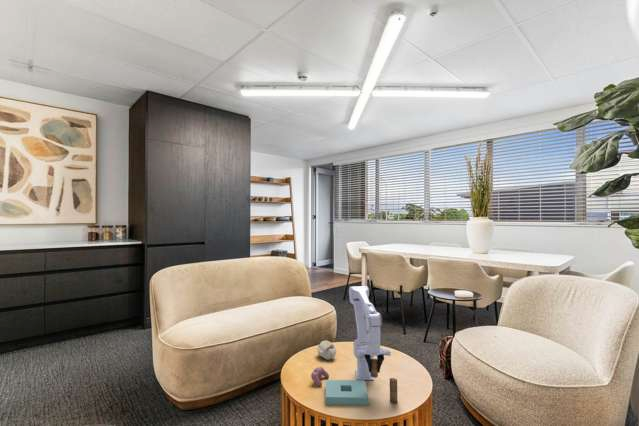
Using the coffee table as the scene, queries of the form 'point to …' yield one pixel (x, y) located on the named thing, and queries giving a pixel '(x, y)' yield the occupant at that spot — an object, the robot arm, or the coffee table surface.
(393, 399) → the tall pin
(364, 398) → the block
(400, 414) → the coffee table surface
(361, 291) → the robot arm
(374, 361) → the short pin
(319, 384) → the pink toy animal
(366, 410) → the coffee table surface
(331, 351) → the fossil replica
